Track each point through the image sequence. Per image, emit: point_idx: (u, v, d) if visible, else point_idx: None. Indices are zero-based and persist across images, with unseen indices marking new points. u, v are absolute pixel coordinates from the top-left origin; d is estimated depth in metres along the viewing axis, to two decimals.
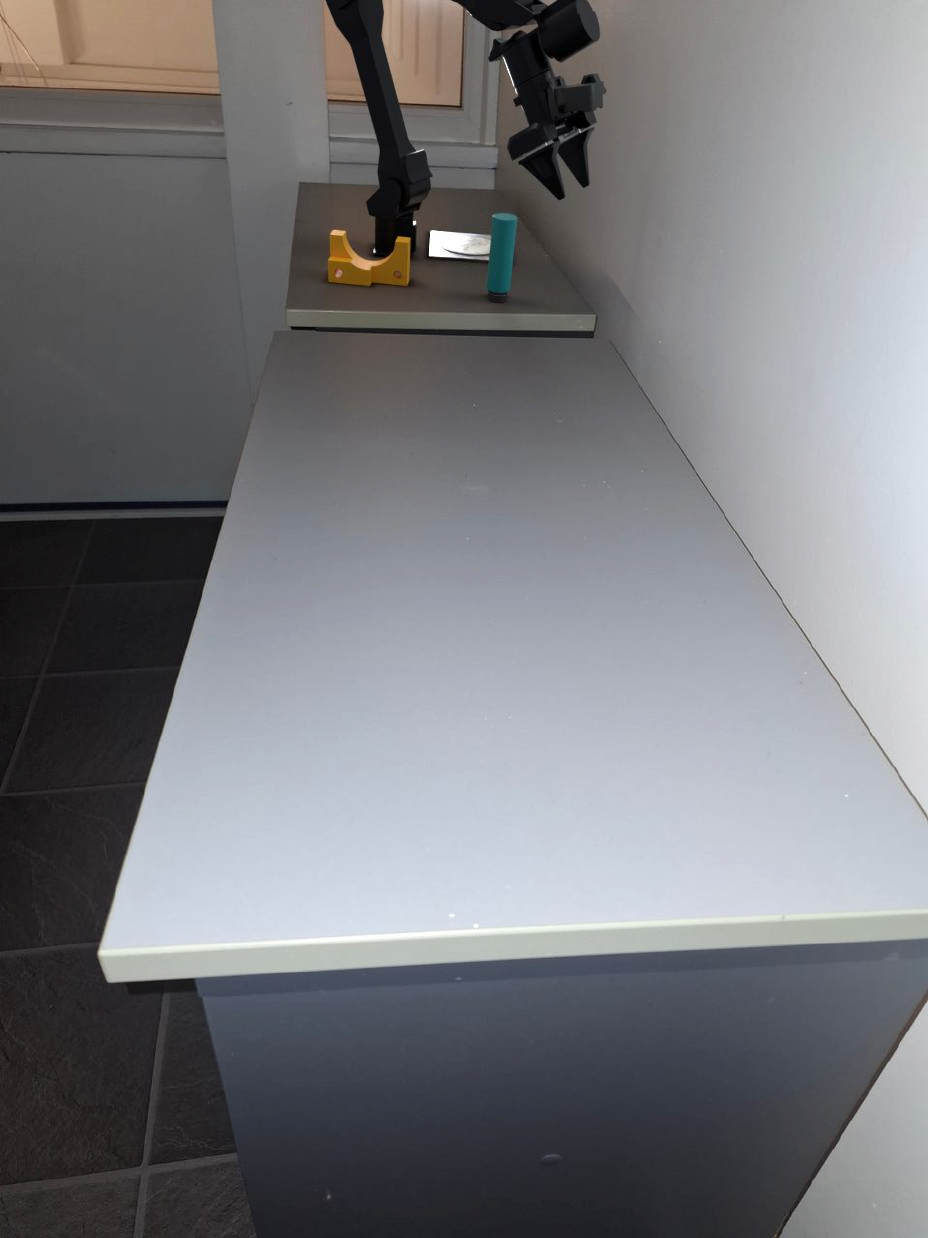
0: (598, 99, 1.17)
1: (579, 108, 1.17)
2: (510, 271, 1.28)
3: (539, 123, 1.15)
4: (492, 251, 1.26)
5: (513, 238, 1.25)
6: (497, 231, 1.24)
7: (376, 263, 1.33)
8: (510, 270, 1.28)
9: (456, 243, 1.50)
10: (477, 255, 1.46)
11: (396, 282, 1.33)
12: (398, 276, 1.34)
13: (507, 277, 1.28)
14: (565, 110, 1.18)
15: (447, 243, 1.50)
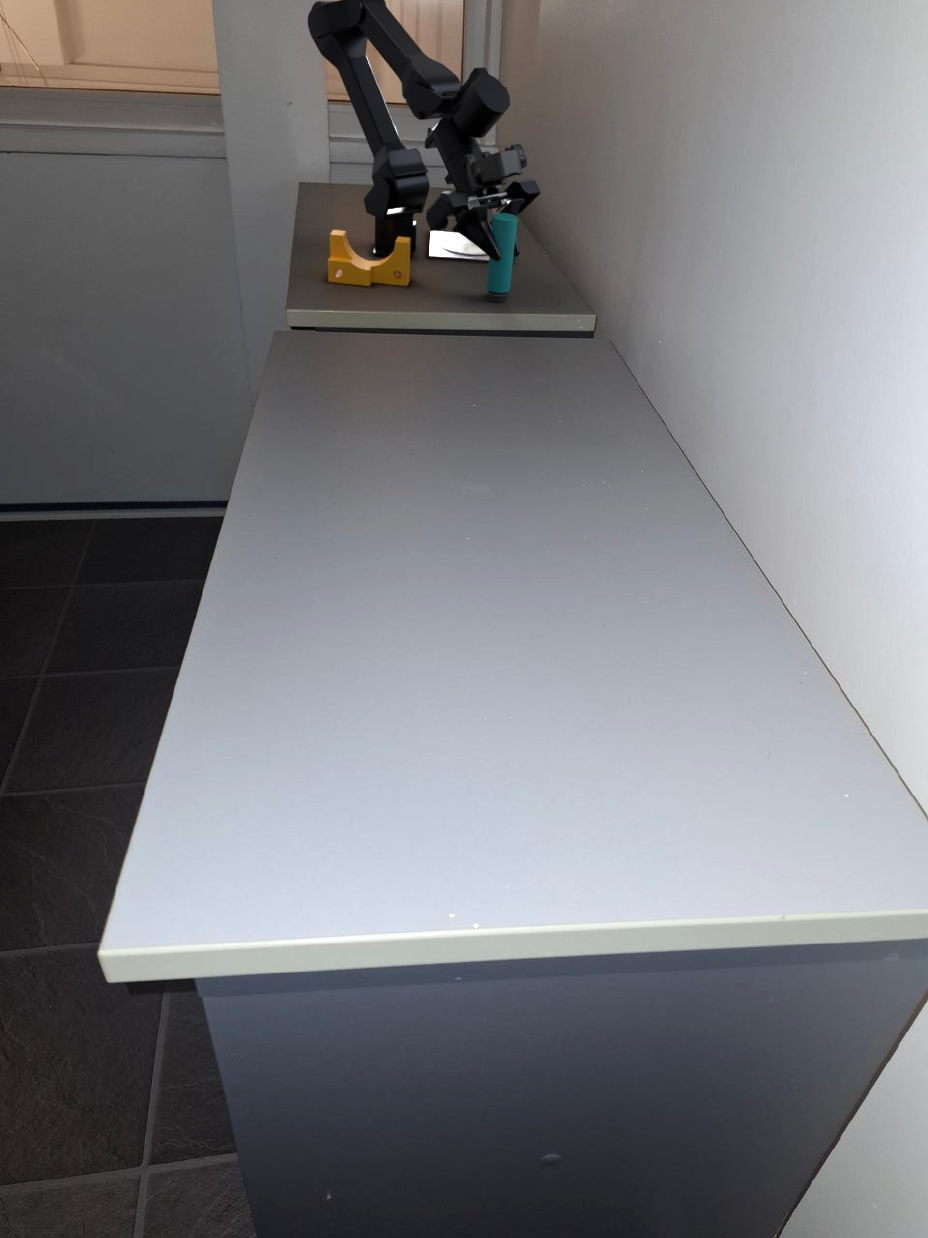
0: (511, 165, 1.20)
1: (491, 176, 1.20)
2: (510, 271, 1.28)
3: (445, 193, 1.19)
4: None
5: (513, 238, 1.25)
6: (497, 231, 1.24)
7: (376, 263, 1.33)
8: (510, 270, 1.28)
9: (456, 243, 1.50)
10: (477, 255, 1.46)
11: (396, 282, 1.33)
12: (398, 276, 1.34)
13: (507, 277, 1.28)
14: (482, 180, 1.22)
15: (447, 243, 1.50)
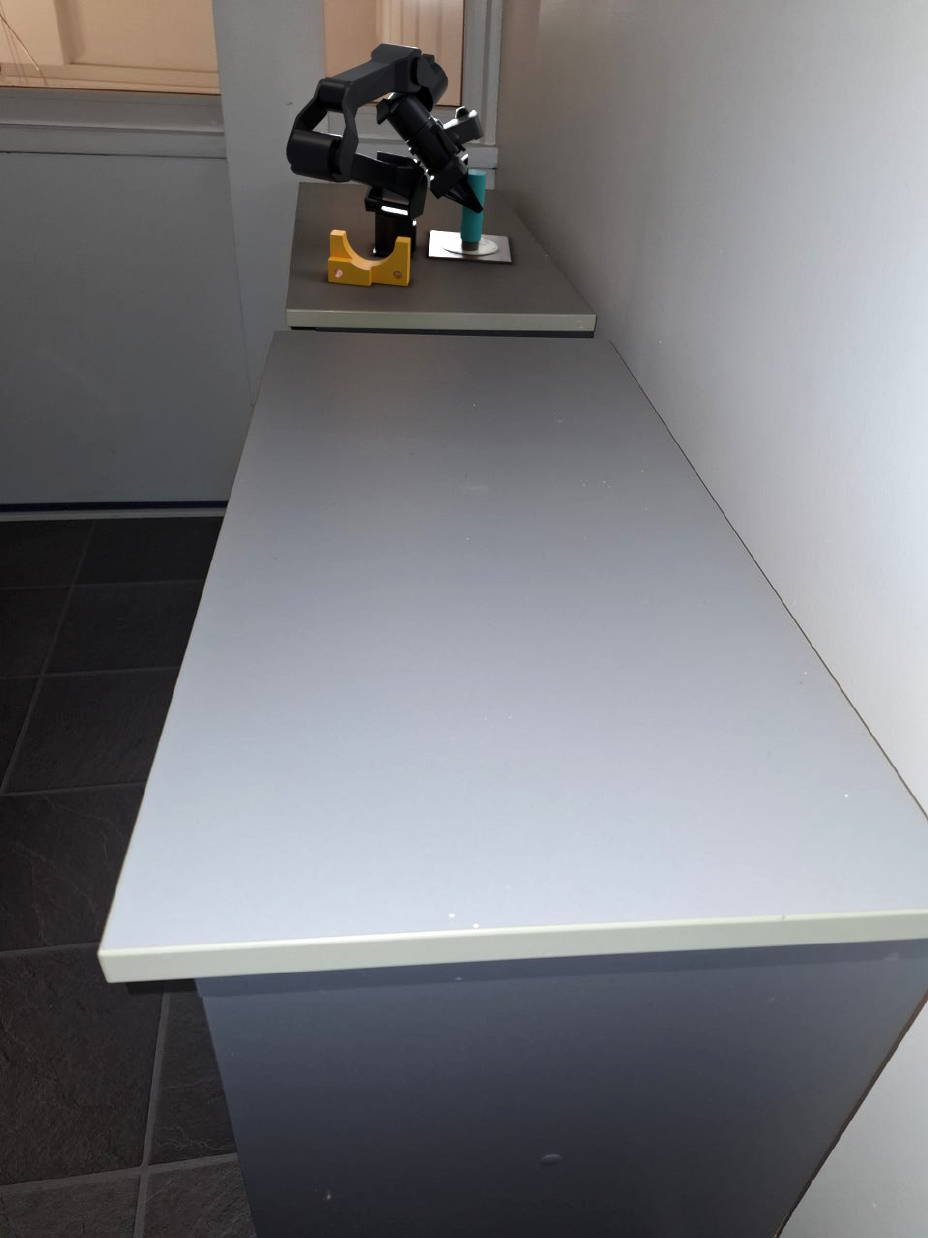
0: None
1: (471, 138, 1.35)
2: None
3: (453, 160, 1.32)
4: None
5: None
6: (477, 186, 1.40)
7: (376, 263, 1.33)
8: None
9: (456, 243, 1.50)
10: (477, 255, 1.46)
11: (396, 282, 1.33)
12: (398, 276, 1.34)
13: None
14: (459, 143, 1.36)
15: (447, 243, 1.50)
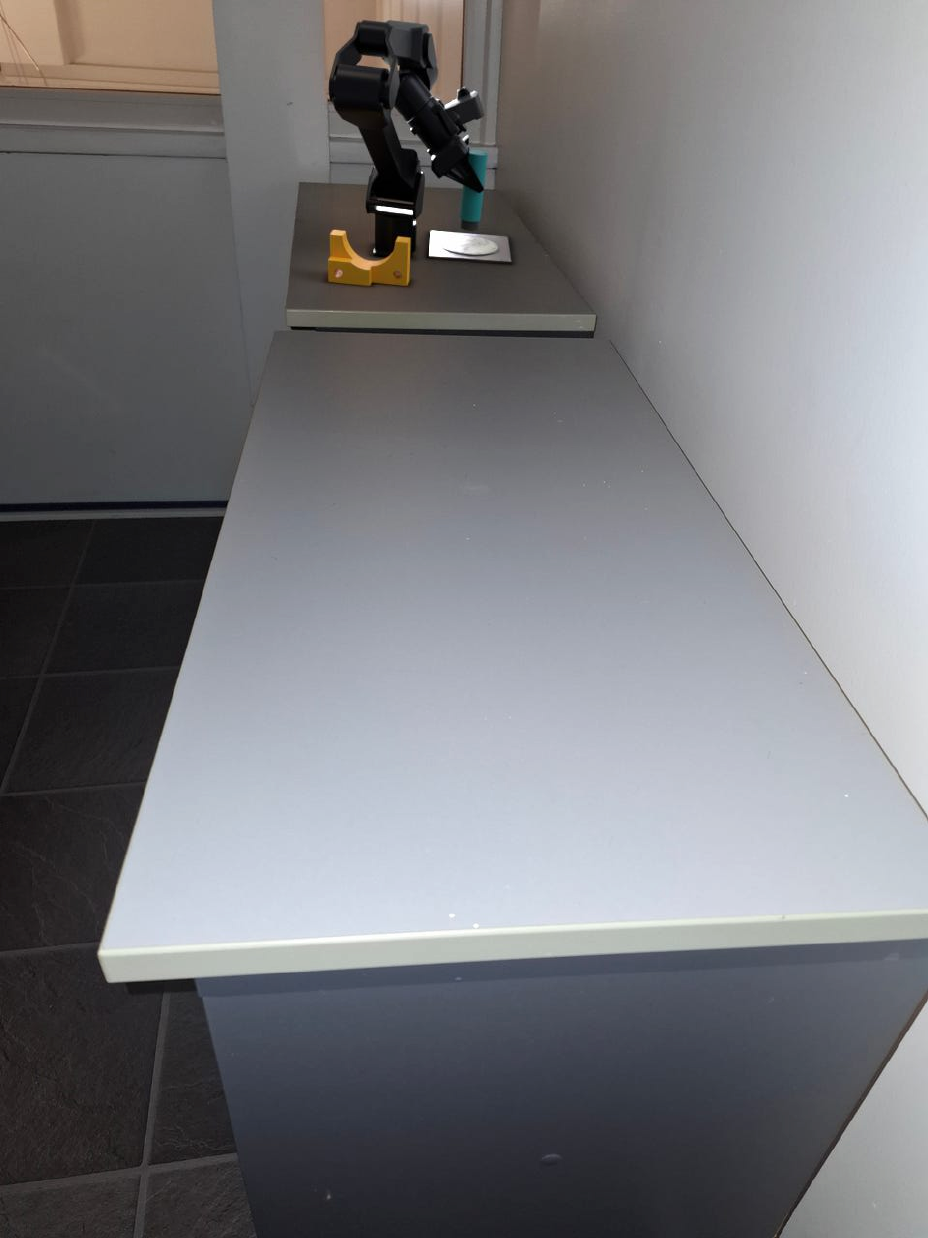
0: (481, 105, 1.38)
1: (472, 117, 1.37)
2: None
3: (454, 140, 1.33)
4: None
5: None
6: (478, 166, 1.42)
7: (376, 263, 1.33)
8: None
9: (456, 243, 1.50)
10: (477, 255, 1.46)
11: (396, 282, 1.33)
12: (398, 276, 1.34)
13: (481, 205, 1.47)
14: (460, 123, 1.37)
15: (447, 243, 1.50)
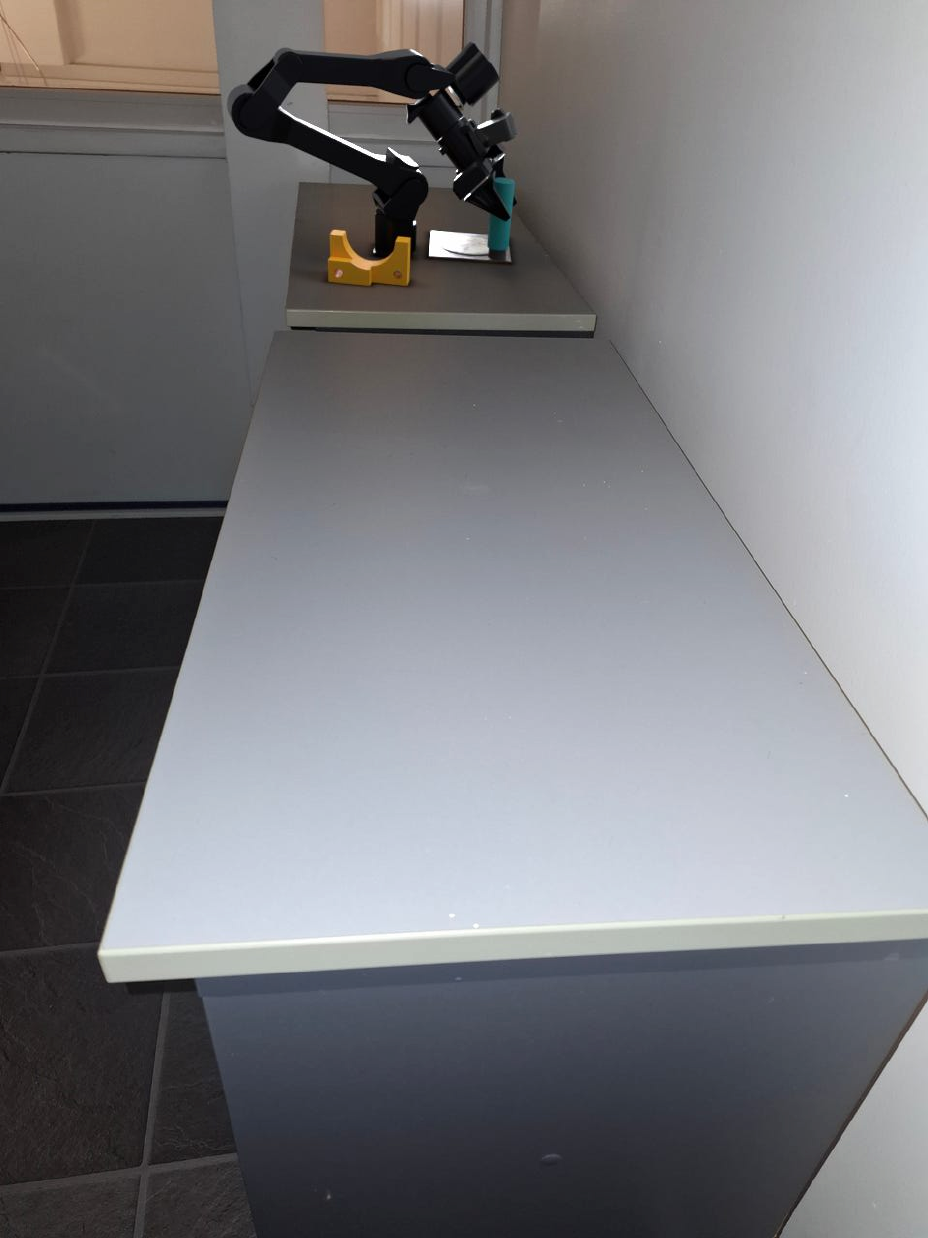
0: (513, 127, 1.33)
1: (501, 139, 1.33)
2: None
3: (477, 161, 1.30)
4: None
5: None
6: (504, 194, 1.38)
7: (376, 263, 1.33)
8: None
9: (456, 243, 1.50)
10: (477, 255, 1.46)
11: (396, 282, 1.33)
12: (398, 276, 1.34)
13: (509, 234, 1.43)
14: (489, 145, 1.34)
15: (447, 243, 1.50)
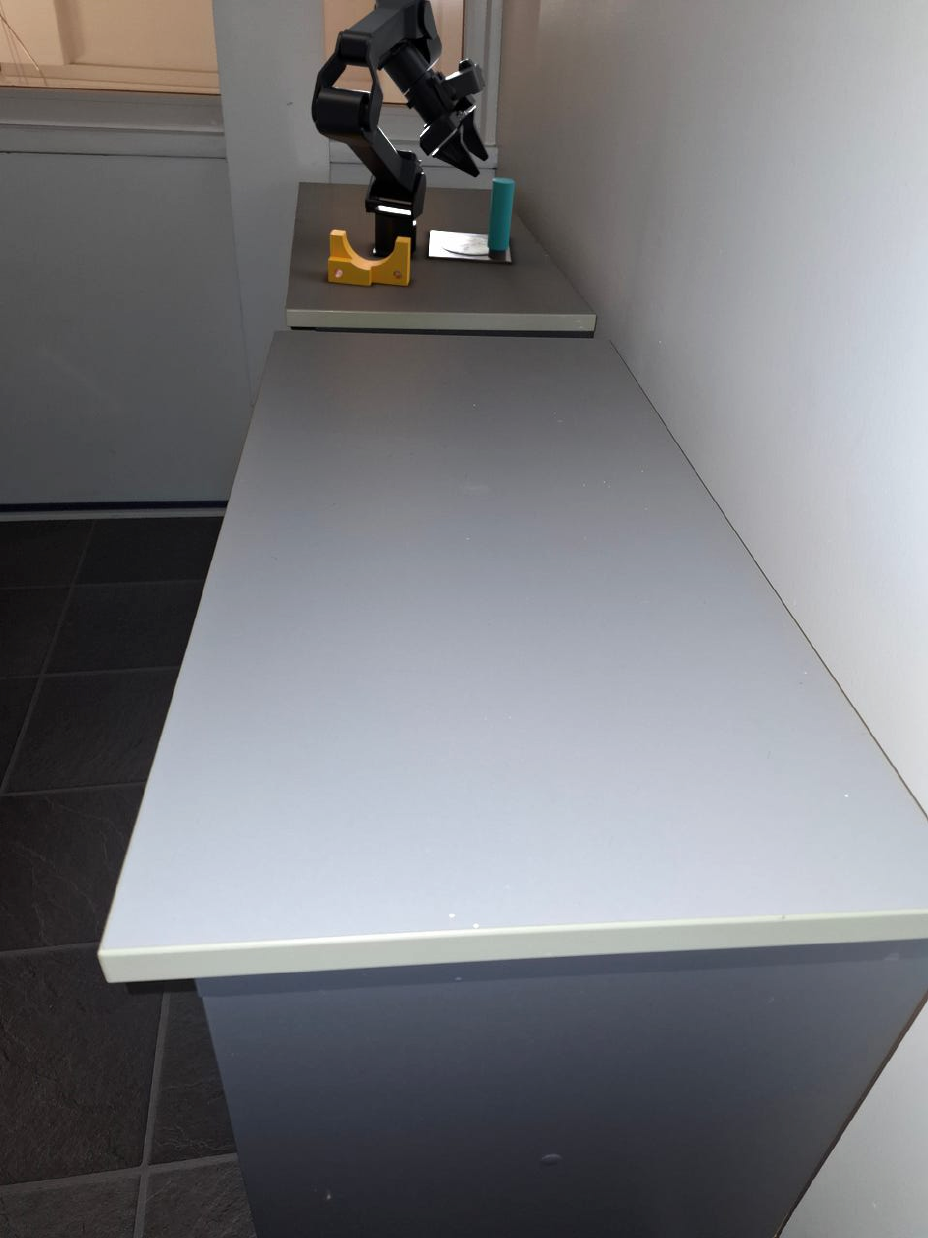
0: (481, 79, 1.30)
1: (469, 92, 1.30)
2: None
3: (443, 115, 1.27)
4: (499, 214, 1.40)
5: None
6: (504, 194, 1.38)
7: (376, 263, 1.33)
8: None
9: (456, 243, 1.50)
10: (477, 255, 1.46)
11: (396, 282, 1.33)
12: (398, 276, 1.34)
13: (509, 234, 1.43)
14: (456, 98, 1.31)
15: (447, 243, 1.50)
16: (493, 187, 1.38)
